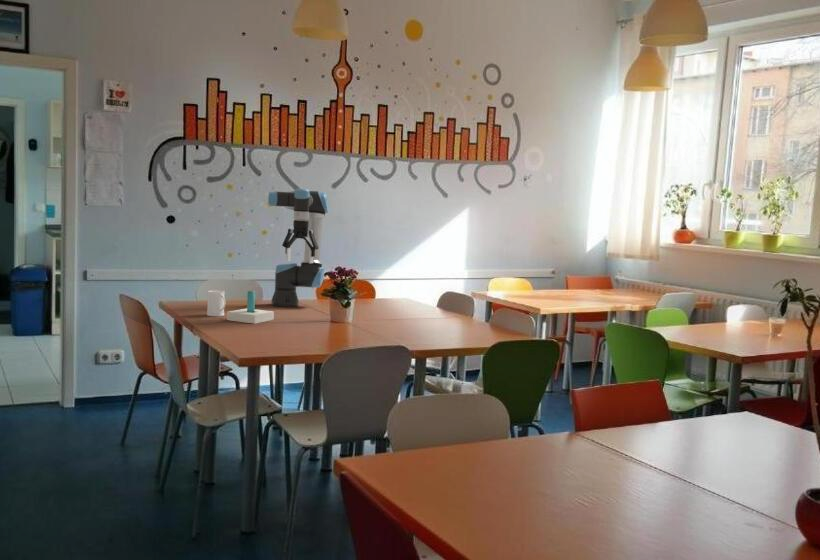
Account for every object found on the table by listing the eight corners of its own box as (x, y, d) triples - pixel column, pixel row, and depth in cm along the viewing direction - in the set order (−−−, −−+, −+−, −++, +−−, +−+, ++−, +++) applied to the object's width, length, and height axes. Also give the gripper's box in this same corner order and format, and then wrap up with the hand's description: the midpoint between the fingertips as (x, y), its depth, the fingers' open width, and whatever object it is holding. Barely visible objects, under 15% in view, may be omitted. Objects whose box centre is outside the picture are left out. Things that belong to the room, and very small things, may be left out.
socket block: (227, 320, 391) (227, 311, 391) (246, 316, 406) (247, 308, 405) (254, 323, 385) (254, 315, 384) (273, 319, 399) (273, 311, 399)
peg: (245, 319, 394) (246, 291, 393) (249, 319, 398) (250, 290, 396) (251, 320, 393) (252, 292, 391) (255, 319, 396) (256, 291, 395)
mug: (231, 316, 402) (231, 292, 401) (215, 317, 396) (216, 293, 395) (218, 313, 410) (219, 289, 409) (203, 314, 405) (204, 290, 403)
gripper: (276, 218, 408) (274, 260, 411) (318, 221, 398) (316, 264, 400) (284, 218, 415) (283, 259, 418) (326, 221, 404) (324, 263, 407)
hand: (299, 262), depth 409 cm, fingers open, 13 cm apart
